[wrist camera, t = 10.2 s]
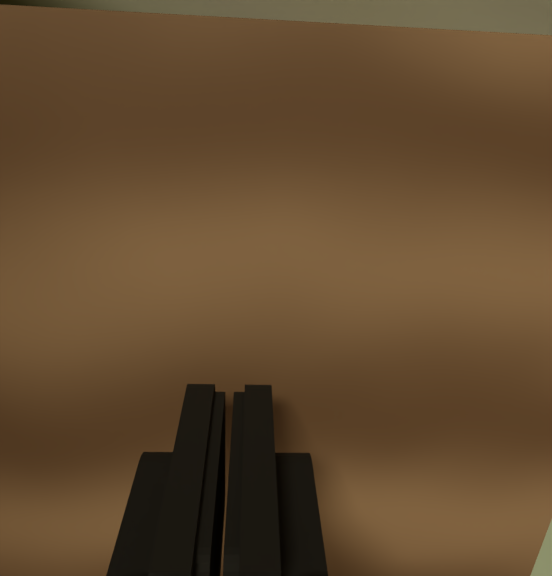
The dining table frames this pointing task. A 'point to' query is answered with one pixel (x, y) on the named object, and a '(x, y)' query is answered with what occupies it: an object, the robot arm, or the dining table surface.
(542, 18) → the dining table surface
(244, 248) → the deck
